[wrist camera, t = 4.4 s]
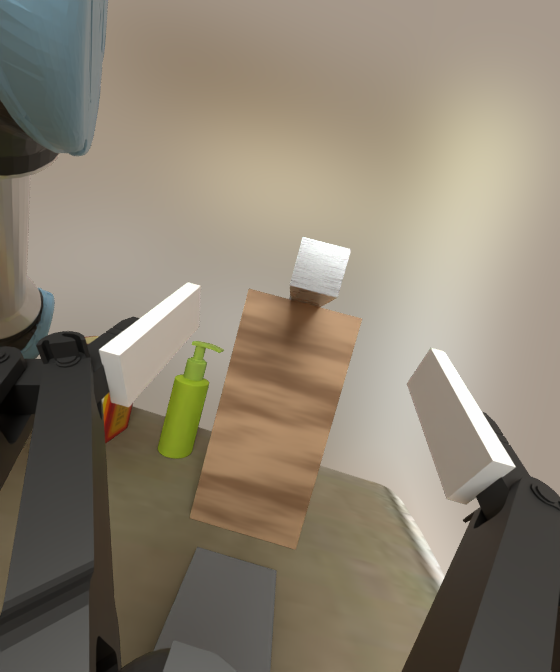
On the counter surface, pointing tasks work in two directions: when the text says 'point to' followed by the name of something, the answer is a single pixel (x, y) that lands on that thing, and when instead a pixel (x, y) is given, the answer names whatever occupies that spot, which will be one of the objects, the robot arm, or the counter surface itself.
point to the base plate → (224, 611)
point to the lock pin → (318, 272)
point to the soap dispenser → (186, 405)
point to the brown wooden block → (274, 417)
